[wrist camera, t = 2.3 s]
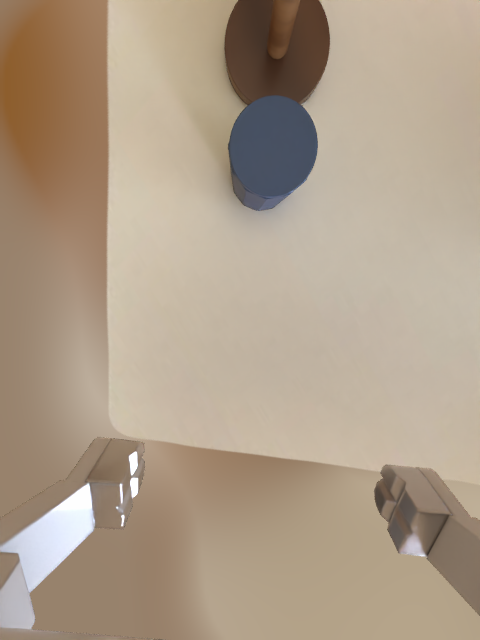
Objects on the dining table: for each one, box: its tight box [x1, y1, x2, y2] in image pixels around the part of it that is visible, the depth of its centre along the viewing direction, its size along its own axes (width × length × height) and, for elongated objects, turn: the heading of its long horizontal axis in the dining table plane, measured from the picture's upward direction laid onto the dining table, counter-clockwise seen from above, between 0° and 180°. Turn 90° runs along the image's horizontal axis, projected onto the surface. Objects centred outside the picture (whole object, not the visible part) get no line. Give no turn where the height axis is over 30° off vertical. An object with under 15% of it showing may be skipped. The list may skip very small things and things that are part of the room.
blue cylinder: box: [228, 95, 318, 211], centre depth 22 cm, size 6×6×10 cm
